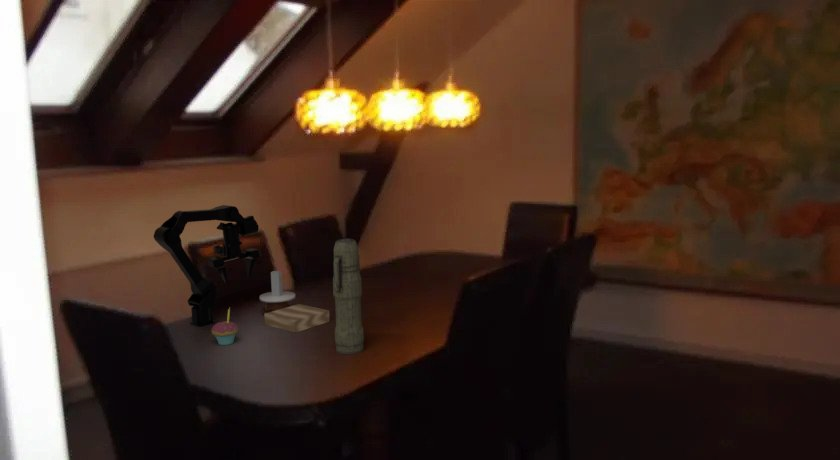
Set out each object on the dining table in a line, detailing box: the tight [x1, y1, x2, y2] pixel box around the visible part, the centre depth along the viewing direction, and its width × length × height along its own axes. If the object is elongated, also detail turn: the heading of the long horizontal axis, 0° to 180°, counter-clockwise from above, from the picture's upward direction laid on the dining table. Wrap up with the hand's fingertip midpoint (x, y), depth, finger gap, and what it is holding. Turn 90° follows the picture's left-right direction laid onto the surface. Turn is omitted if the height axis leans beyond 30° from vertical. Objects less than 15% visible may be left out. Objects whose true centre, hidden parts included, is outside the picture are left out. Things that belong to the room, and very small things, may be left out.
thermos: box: [332, 237, 365, 355], centre depth 230 cm, size 9×12×35 cm
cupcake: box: [211, 307, 240, 346], centre depth 241 cm, size 9×8×12 cm
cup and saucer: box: [261, 301, 292, 315], centre depth 276 cm, size 12×12×6 cm
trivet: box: [263, 303, 330, 333], centre depth 262 cm, size 16×16×4 cm
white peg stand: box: [259, 270, 296, 303], centre depth 274 cm, size 13×13×10 cm
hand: (237, 280), depth 274 cm, fingers open, 9 cm apart
